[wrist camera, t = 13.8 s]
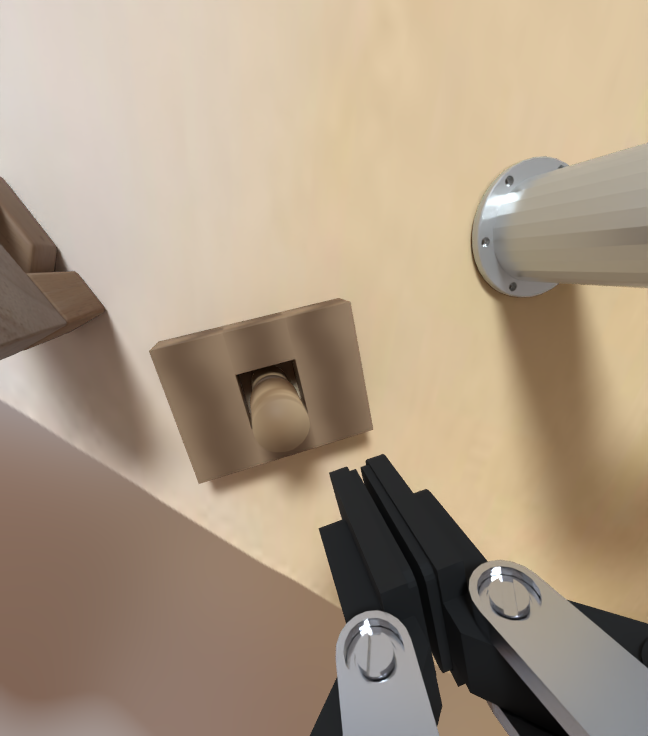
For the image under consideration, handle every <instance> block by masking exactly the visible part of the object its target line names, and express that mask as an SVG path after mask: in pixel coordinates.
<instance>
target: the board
mask: <svg viewBox="0 0 648 736" xmlns="http://www.w3.org/2000/svg"><path fill="white" fill-rule="evenodd" d="M149 352H150V355H151V358H152V360H153V363H154V366H155V368H156V371H157V374H158V376H159V379H160V382H161V384H162V387H163V390H164V392H165V395H166V397H167V400H168V403H169V405H170V408H171V411H172V413H173V416H174V419H175V421H176V424H177V427H178V429H179V432H180V435H181V437H182V440H183V443H184V445H185V448H186V451H187V453H188V456H189V459H190V461H191V464H192V467H193V469H194V472H195V475H196V477H197V480H198V483H199V484H200V483H203V482H207V481H210V480H213V479H216V478H219V477H223V476H226V475H229V474H232V473H235V472H239V471H242V470H245V469H248V468H251V467H255V466H258V465H261V464H264V463H268V462H271V461H274V460H277V459H280V458H284V457H287V456H290V455H293V454H296V453H300V452H303V451H306V450H309V449H312V448H316V447H319V446H322V445H325V444H329V443H332V442H335V441H338V440H341V439H345V438H348V437H351V436H354V435H357V434H361V433H364V432H367V431H370V430H373V425H372V420H371V414H370V409H369V403H368V397H367V392H366V386H365V381H364V375H363V370H362V364H361V358H360V353H359V347H358V342H357V336H356V331H355V325H354V319H353V314H352V308H351V303H350V302H349V301H346V300H343V299H340V298H337V299H333V300H329V301H325V302H321V303H317V304H312V305H308V306H304V307H300V308H296V309H292V310H288V311H284V312H279V313H275V314H271V315H267V316H263V317H259V318H255V319H251V320H247V321H242V322H238V323H234V324H230V325H226V326H222V327H218V328H214V329H209V330H205V331H201V332H197V333H193V334H189V335H185V336H181V337H176V338H172V339H168V340H164V341H160V342H158V343H157V344H156V345H155V346H154V347H153V348H152V349H151V350H150V351H149ZM290 360H292V363H293V367H294V371H295V375H296V380H297V384H298V388H299V392H300V396H301V399H300V400H301V402H302V404H303V406H304V408H305V410H306V412H307V414H308V417H309V421H310V428H309V432H308V435H307V437H306V438H305V440H304V441H303V442H302V443H301V444H300V445H299V446H298V447H296V448H295V449H293V450H290V451H287V452H271V451H268V450H266V449H264V448H263V447H262V446H260V445H259V444H258V442H257V441H256V439H255V437H254V434H253V427H252V417H251V413H250V412H249V409H248V405H247V402H246V399H245V395H244V392H243V389H242V385H241V382H240V379H239V375H238V374H241V373H244V372H248V371H252V370H256V369H259V368H263V367H267V366H271V365H274V364H278V363H282V362H286V361H290Z"/></svg>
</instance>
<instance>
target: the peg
mask: <svg viewBox="0 0 648 736" xmlns="http://www.w3.org/2000/svg"><path fill="white" fill-rule="evenodd" d="M251 384H252V393H251V397H250V407H251V417H252V427H253V434H254V437H255V439H256V441H257V442H258V444H259V445H260V446H262V447H263V448H264V449H266V450H268V451H271V452H287V451H290V450H293V449H295V448H296V447H298V446H299V445H300V444H301V443H302V442H303V441H304V440H305V438H306V437H307V435H308V432H309V428H310V421H309V417H308V414H307V412H306V410H305V408H304V406H303V404H302V402H301V400H300V398H299V395H298V393H297V391H296V389H295V388H294V386H293V385H292V384H291V383H290V382H288V380H287V378H286V376H285V374H284V372H283V371H282V370H281V369H280V368H279V367H277V366H275V365H271V366H267V367H263V368H259V369H257V370H256V371H255V372H254V374H253V376H252V379H251Z"/></svg>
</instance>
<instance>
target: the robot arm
mask: <svg viewBox="0 0 648 736" xmlns="http://www.w3.org/2000/svg"><path fill="white" fill-rule="evenodd" d="M472 248H473V254H474V259H475V262H476V264H477V267H478V270H479V272H480V273H481V275H482V276H483V278H484V279H485V281H486V282H487V283H488V284H489V285H490V286H491V287H492V288H494V289H495V290H497V291H499V292H500V293H503V294H506V295H509V296H515V297H533V296H536V295H540V294H543V293H545V292H547V291H549V290H551V289H552V288H554V287H555V286H556V285H558V284H559V283H562V284H580V285H598V286H616V287H634V288H648V143H644V144H641V145H638V146H634V147H631V148H628V149H624V150H621V151H617V152H614V153H611V154H607V155H604V156H601V157H597V158H594V159H590V160H587V161H584V162H580V163H577V164H574V165H570V166H569V165H568V164H567V163H565V162H563V161H561V160H559V159H557V158H552V157H546V156H544V157H533V158H530V159H527V160H524V161H521V162H519V163H517V164H514V165H512V166H510V167H509V168H508V169H506V170H505V171H503V172H502V173H501V174H500V175H499V176H498V177H497V178H496V179H495V180H494V181H493V182H492V183H491V185H490V186H489V187H488V189H487V190H486V192H485V193H484V195H483V197H482V199H481V201H480V204H479V206H478V208H477V212H476V215H475V218H474V223H473V231H472ZM361 472H362V477H363V481H364V483H363V481H362V479H361V477H360V476H359V474H358V472H357V470H356V469H354V470H351V471H349V469H348V467H344V468H341V469H339V470H336V471H333V472H330V473H329V474H330V478H331V482H332V485H333V489H334V493H335V496H336V500H337V503H338V507H339V510H340V514H341V518H342V520H340V521H338V522H335V523H332V524H329V525H327V526H324V527H321V528H319V531H320V535H321V538H322V542H323V545H324V548H325V552H326V555H327V559H328V562H329V566H330V569H331V573H332V576H333V579H334V583H335V586H336V590H337V593H338V597H339V600H340V604H341V607H342V611H343V614H344V617H345V621H346V625H345V627H344V628H343V630H342V631H341V633H340V635H339V638H338V641H337V644H336V667H337V678H336V681H335V683H334V685H333V687H332V689H331V691H330V693H329V696H328V698H327V700H326V702H325V704H324V706H323V709H322V711H321V713H320V715H319V717H318V719H317V721H316V724H315V726H314V728H313V730H312V732H311V734H310V736H439V733H438V729H437V725H438V721H439V717H440V713H441V709H442V702H441V697H440V693H439V688H438V683H437V679H436V671H435V667H434V662H433V657H432V654H433V656H434V658H435V660H436V662H437V664H438V666H439V668H440V670H441V671H442V672H443V673H445V672H447V671H449V670H450V671H451V673H452V675H453V677H454V679H455V681H456V683H457V685H458V687H459V686H461V685H463V684H465V683H466V685H467V687H468V689H469V691H470V693H472V694H474V695H476V696H478V697H481V698H483V699H485V700H486V701H487V703H488V705H489V706H490V708H491V710H492V712H493V714H494V715H495V716H496V718H497V719H498V721H499V722H500V723H501V725H502V726H503V728H504V729H505V731H506V732H507V733H508V735H509V736H648V624H647V623H644V622H640V621H637V620H633V619H630V618H627V617H623V616H620V615H617V614H613V613H610V612H606V611H603V610H600V609H596V608H593V607H590V606H586V605H583V604H579V603H576V602H573V601H569V600H566V599H565V598H564V597H563V596H561V595H560V594H559V593H558V592H557V591H556V590H554V589H553V588H552V587H551V586H550V585H548V584H547V583H546V582H545V581H544V580H543V579H541V578H540V577H539V576H538V575H537V574H535V573H534V572H532V571H531V570H529V569H528V568H526V567H525V566H522V565H520V564H517V563H515V562H511V561H505V560H495V561H489V562H488V561H487V560H486V559H485V558H484V556H483V555H482V554H481V553H480V551H479V550H478V549H477V548H476V547H475V545H474V544H473V543H472V542H471V541H470V539H469V538H468V537H467V536H466V534H465V533H464V532H463V531H462V530H461V528H460V527H459V526H458V525H457V524H456V522H455V521H454V520H453V519H452V517H451V516H450V515H449V514H448V513H447V511H446V510H445V509H444V508H443V506H442V505H441V504H440V503H439V502H438V500H437V499H436V498H435V497H434V496H433V494H432V493H431V492H430V491H429V490H427V489H425V490H422V491H419V492H416V493H413V492H412V491H411V489H410V488H409V487H408V485H407V484H406V483H405V481H404V480H403V479H402V477H401V476H400V475H399V473H398V472H397V471H396V469H395V468H394V467H393V465H392V464H391V462H390V461H389V460H388V458H387V457H386V456H385V455H384V454H382V455H379V456H376V457H373V458H370V459H367V460H366V466H363V467H361Z"/></svg>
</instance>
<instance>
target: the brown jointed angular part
mask: <svg viewBox="0 0 648 736" xmlns="http://www.w3.org/2000/svg"><path fill="white" fill-rule="evenodd" d="M56 252H57V247H56V246H55V244H54V243H53V241H52V240H51V239H50V238H49V236H48V235H47V234H46V232H45V231H44V230H43V229H42V227H41V226H40V225H39V224H38V222H37V221H36V220H35V218H34V217H33V216H32V215H31V213H30V212H29V211H28V210H27V208H26V207H25V206H24V204H23V203H22V202H21V201H20V199H19V198H18V197H17V196H16V194H15V193H14V192H13V190H12V189H11V188H10V187H9V185H8V184H7V183H6V182H5V180H4V179H3V178H2V177H0V360H2V359H4V358H6V357H9V356H11V355H14V354H16V353H18V352H20V351H22V350H27V349H29V348H32V347H34V346H37V345H39V344H41V343H44V342H46V341H49V340H51V339H54V338H56V337H59V336H61V335H63V334H66V333H68V332H71V331H72V330H74V329H76V328H78V327H79V326H81V325H83V324H85V323H86V322H88V321H90V320H92V319H93V318H95V317H97V316H99V315H100V314H102V313H103V312H104V311H105V309H104V306H103V305H102V304H101V302H100V301H99V300H98V298H97V297H96V296H95V295H94V293H93V292H92V291H91V290H90V288H89V287H88V286H87V284H86V283H85V282H84V281H83V279H82V278H81V277H80V276H79V274H78V273H76V272H75V271H71V272H54V269H55V261H56Z"/></svg>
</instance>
